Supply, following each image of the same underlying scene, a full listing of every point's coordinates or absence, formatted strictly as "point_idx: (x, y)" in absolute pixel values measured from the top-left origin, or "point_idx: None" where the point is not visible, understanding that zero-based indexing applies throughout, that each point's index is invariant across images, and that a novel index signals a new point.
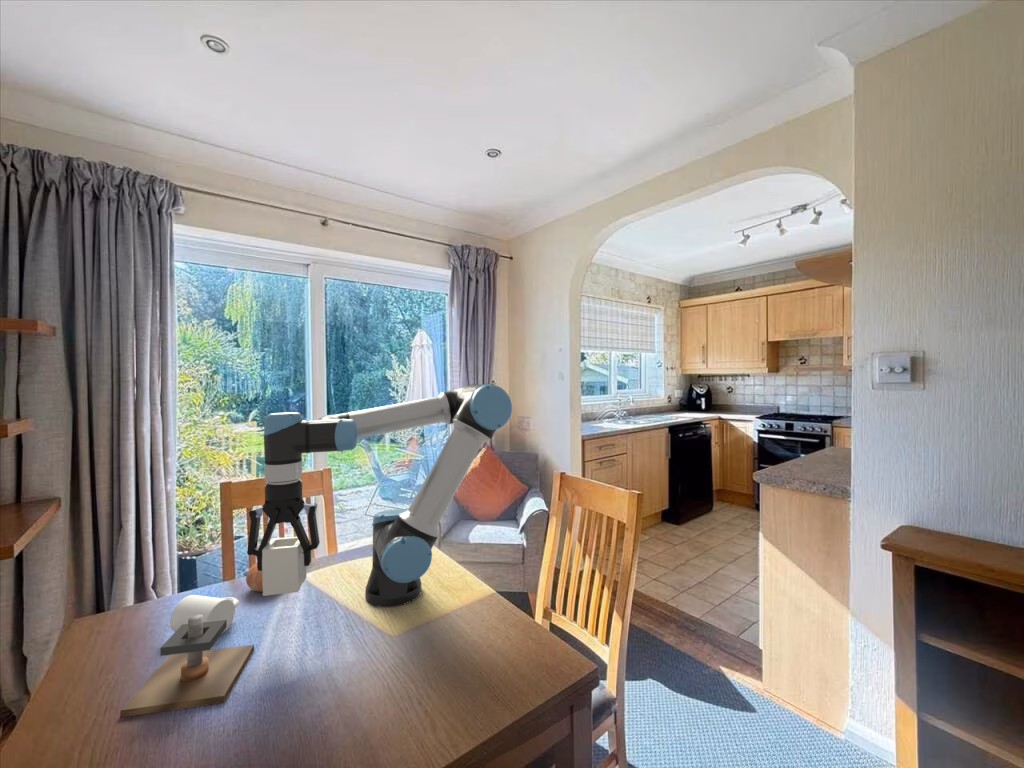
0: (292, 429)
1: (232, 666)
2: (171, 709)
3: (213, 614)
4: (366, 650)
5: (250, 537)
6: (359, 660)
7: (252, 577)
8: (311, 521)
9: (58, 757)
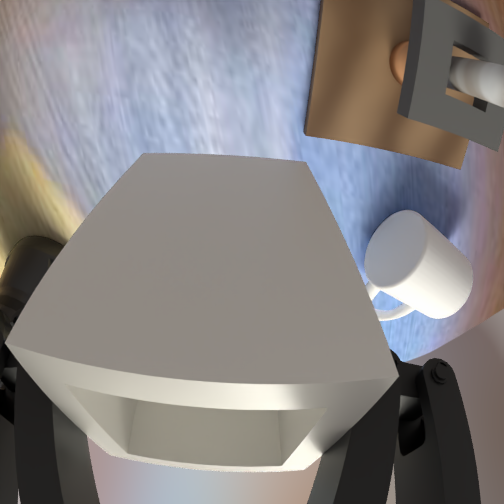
0: None
1: (339, 54)
2: None
3: (416, 243)
4: (45, 78)
5: (469, 474)
6: (54, 44)
7: None
8: None
9: None
